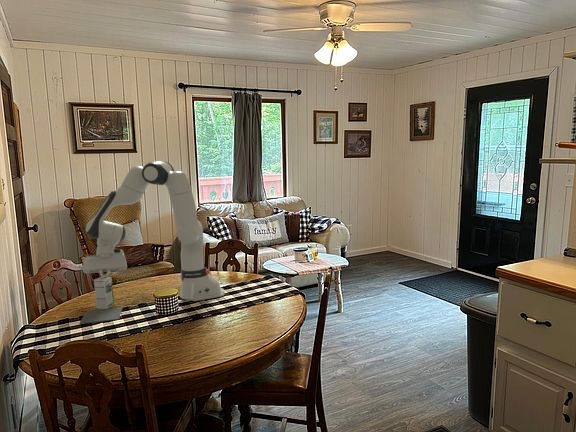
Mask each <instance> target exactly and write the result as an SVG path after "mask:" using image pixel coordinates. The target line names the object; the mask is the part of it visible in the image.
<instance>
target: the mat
mask: <svg viewBox="0 0 576 432" xmlns="http://www.w3.org/2000/svg"><path fill="white" fill-rule="evenodd" d="M122 311H123V306H118V307H110V308H108V309H94V310H92V309H91V310H86V311H85V313H84V314H83V316H82V318H81V320H80V322H79V325H83V324H93V323H100V322H107V321H108V322H110V321H117V320H120V318H121V315H122V314H121V313H122Z"/></svg>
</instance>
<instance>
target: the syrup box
mask: <svg viewBox="0 0 576 432" xmlns="http://www.w3.org/2000/svg"><path fill="white" fill-rule="evenodd" d="M112 278H113V277H112V276H101V275H100V277H98V278H95V279H93V285H94V294H95V303H96V310H101V309H109V308H113V306H115V298H114V297H115V296H114V290H113V289H114V288H113V287H114V286H113V279H112Z"/></svg>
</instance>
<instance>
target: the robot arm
mask: <svg viewBox="0 0 576 432" xmlns="http://www.w3.org/2000/svg"><path fill="white" fill-rule="evenodd" d="M149 184H150V185H157V186H164V185H165V187H166V188H167V190H168V195H169V199H170V202H171V205H172V206H171V207H172V211H173V216H174V221H175V222H174V224H175V229H176V236H177V238H178V240H179V242H180V243H181V244H180V263H181V269H180V279H181V290H180V295H179V298H180V299H183V300H188V301H193V302H197V301H198V302H199V301H203V300H208V299H214V298H219V297H223V296H225V294H226V291H225V289H224V288H223V287H221V284H220V283H219V280H217V279H216V278H215V277H213V276H212V275H210V269H208V268H207V267H205V264H204V263H205V262H204V228H203V227H204V226H203V223H202V222H201V221H200V220H198V214H197V206H196V202H195V198H194V197H195V196H194V194H193V191H192V187H191V186H192V185H191V184H190V181H189V179H188V177H187V174H186V173H185V172H184V171H182V170H181V171H180V170H176V171H175V168H174V167H173V165H172V164H171V163H170V162H168V161H165V160H164V161H160V160H155V161H154V160H153V161H151V162H147V163H146V164H145V165H144V166H142V165H134V166H132V167H131V168H130V169H129V171H128V173H127V174H126V176H125V178H124V179H123V181H122V183H121V185H120V187H118V188H117V189H116V190H112V191H111V192H110V193H109V194H108V195H107V196H106V197H105V199H104V200H103V201H102V203H101V204H100V207H99V208H98V209H97V211H96V212H95V214H94V215H93V216H92V217H91V218H90V219H89V221H88V222H87V224H86V227H85V233H86V235H87V236H88V238H90V239H95V240H96V245H97V247H96V249H95V250H96V252H95V255H86V256H85V257H83V258H82V263H83V264H82V272H83V273H84V274H94V273H95V274H96V273H99V275H100V277H101V276H109V275H110V274H111V273H112V272H117V271H125V270H127V268H128V265H127V264H128V263H127V259H126V256H125V251H124V250H123V249H120V248H116V246H118V245H119V244H121V243H122V242H123V241H124V240H125V239H126V228H125V226H124V225H123V224H121V223H120V224H119V223H117V222H111V221H108V220H105V219H106V217H107V216H108V214H109V213H110V211H111V210H112V208H114V207H117V206H127V205H129V206H130V205H134V204H136V203H138V202H140V201H141V199H142V198H143V196H144V193H145V191H146V190H147V187H148V186H149Z"/></svg>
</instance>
